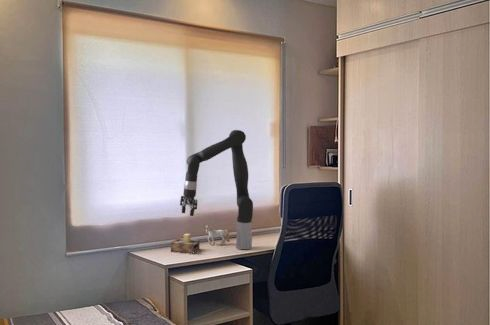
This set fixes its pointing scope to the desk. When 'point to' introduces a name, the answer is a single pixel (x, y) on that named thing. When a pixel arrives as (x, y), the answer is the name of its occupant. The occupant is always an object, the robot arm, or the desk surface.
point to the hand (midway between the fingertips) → (187, 214)
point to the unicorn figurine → (217, 234)
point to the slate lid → (187, 239)
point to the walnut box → (184, 246)
